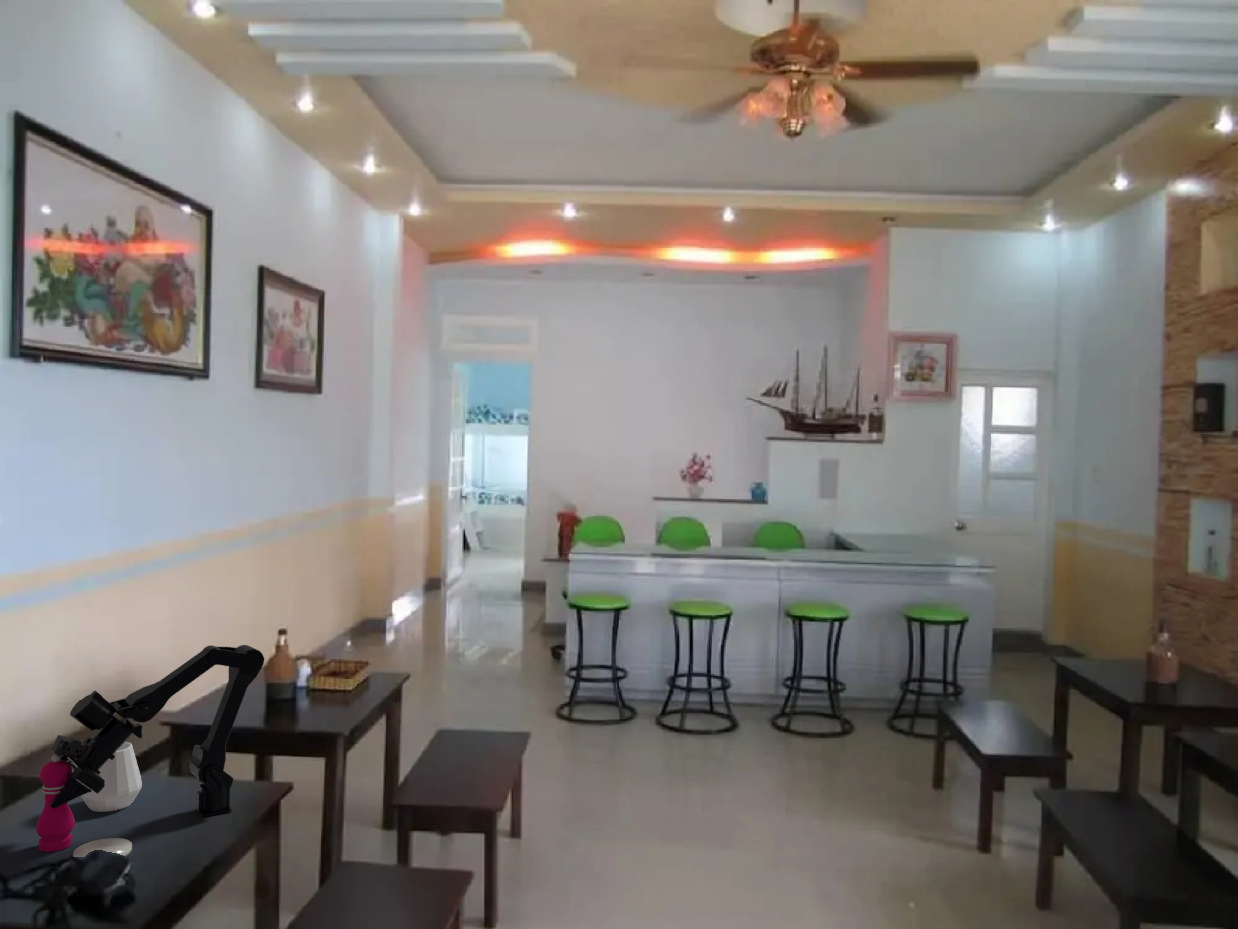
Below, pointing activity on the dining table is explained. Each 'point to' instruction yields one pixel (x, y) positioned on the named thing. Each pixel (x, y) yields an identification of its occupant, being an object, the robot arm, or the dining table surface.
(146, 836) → the dining table surface
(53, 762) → the pepper mill
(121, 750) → the cup
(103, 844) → the saucer
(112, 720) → the robot arm
